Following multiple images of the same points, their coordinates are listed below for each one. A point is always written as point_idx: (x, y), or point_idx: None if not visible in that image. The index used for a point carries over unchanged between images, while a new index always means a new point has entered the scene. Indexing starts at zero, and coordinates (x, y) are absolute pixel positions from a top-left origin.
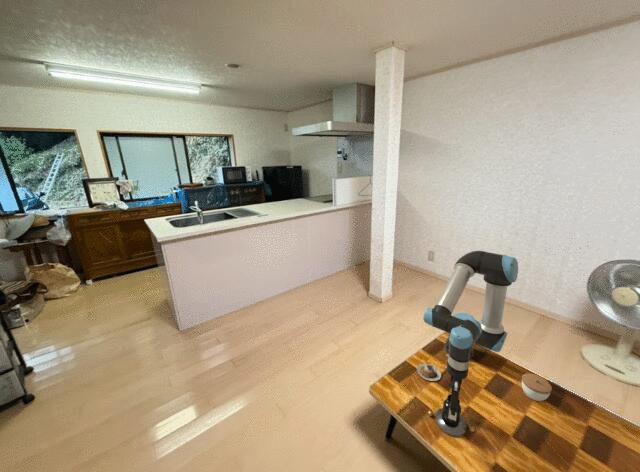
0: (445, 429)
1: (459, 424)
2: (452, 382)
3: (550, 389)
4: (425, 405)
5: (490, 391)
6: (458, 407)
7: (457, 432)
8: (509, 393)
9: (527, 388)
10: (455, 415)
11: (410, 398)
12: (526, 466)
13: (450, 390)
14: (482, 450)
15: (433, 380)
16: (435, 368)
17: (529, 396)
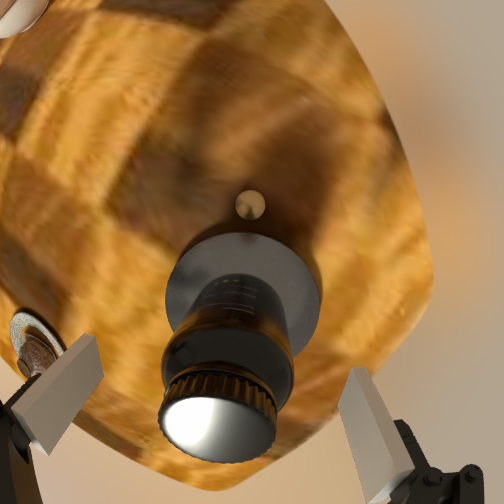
0: (302, 336)
1: (245, 268)
2: (55, 433)
3: None
4: None
5: (22, 120)
6: (244, 363)
7: (301, 283)
8: (25, 64)
9: (13, 11)
10: (379, 407)
11: None
12: (337, 18)
13: (99, 382)
14: (345, 166)
15: (59, 349)
16: (15, 327)
17: (36, 13)
